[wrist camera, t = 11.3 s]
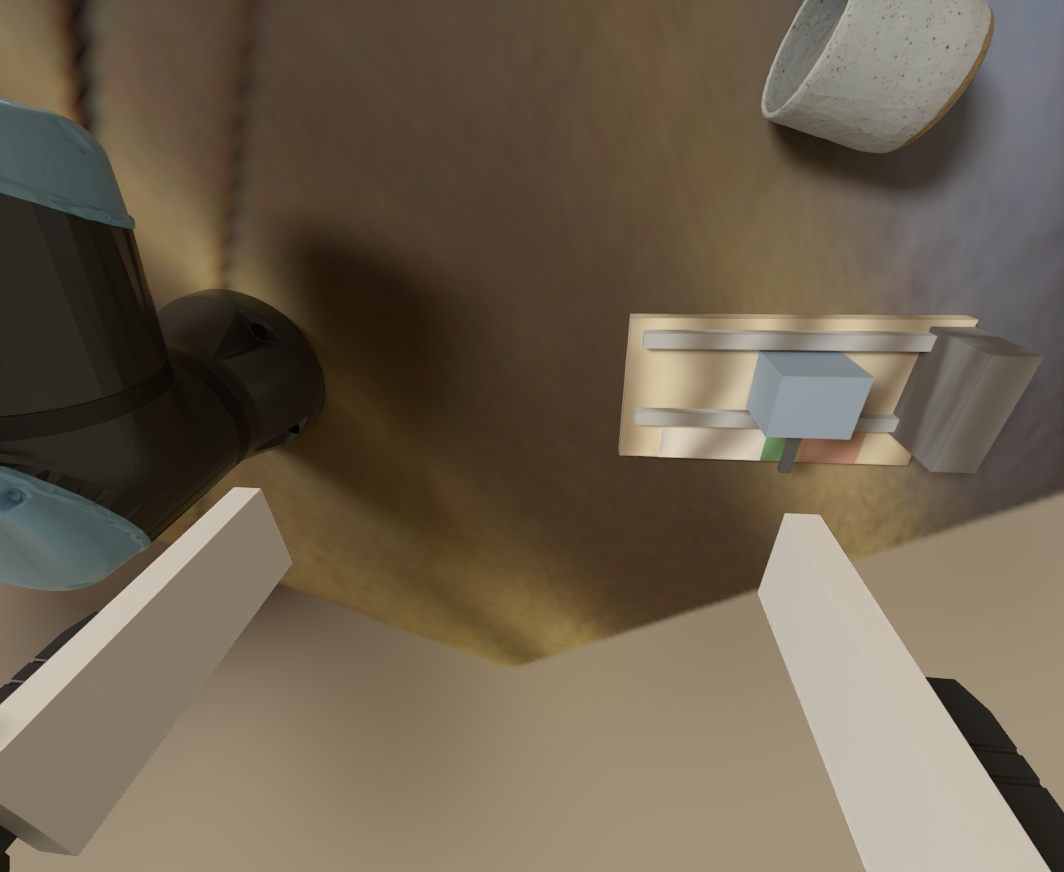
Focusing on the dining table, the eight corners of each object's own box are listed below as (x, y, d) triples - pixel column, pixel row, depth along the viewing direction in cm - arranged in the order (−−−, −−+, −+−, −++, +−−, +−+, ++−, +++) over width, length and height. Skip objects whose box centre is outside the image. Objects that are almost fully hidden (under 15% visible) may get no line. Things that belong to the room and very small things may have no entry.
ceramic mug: (860, 162, 30) (938, 160, 24) (744, 123, 30) (791, 111, 23) (983, -58, 25) (1129, -140, 18) (844, -109, 24) (942, -212, 18)
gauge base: (618, 448, 44) (623, 495, 38) (630, 313, 37) (638, 344, 31) (898, 457, 41) (953, 510, 35) (966, 315, 34) (1048, 349, 28)
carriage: (735, 448, 41) (752, 482, 37) (759, 350, 36) (782, 376, 32) (806, 451, 40) (831, 485, 36) (840, 351, 35) (874, 377, 31)
